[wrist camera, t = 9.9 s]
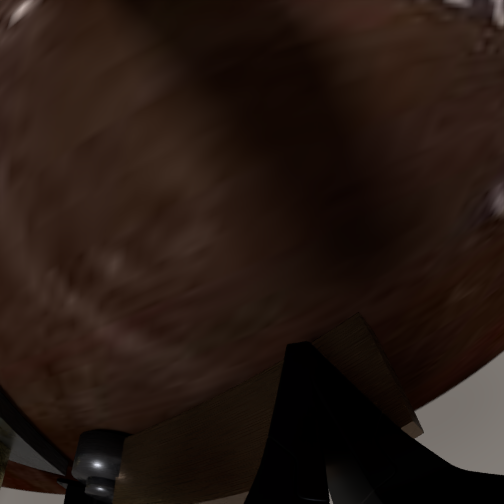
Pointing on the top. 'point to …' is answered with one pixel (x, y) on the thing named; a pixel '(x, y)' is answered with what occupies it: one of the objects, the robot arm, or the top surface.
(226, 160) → the top surface
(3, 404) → the plate
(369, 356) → the brown bar with knob
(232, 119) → the top surface
